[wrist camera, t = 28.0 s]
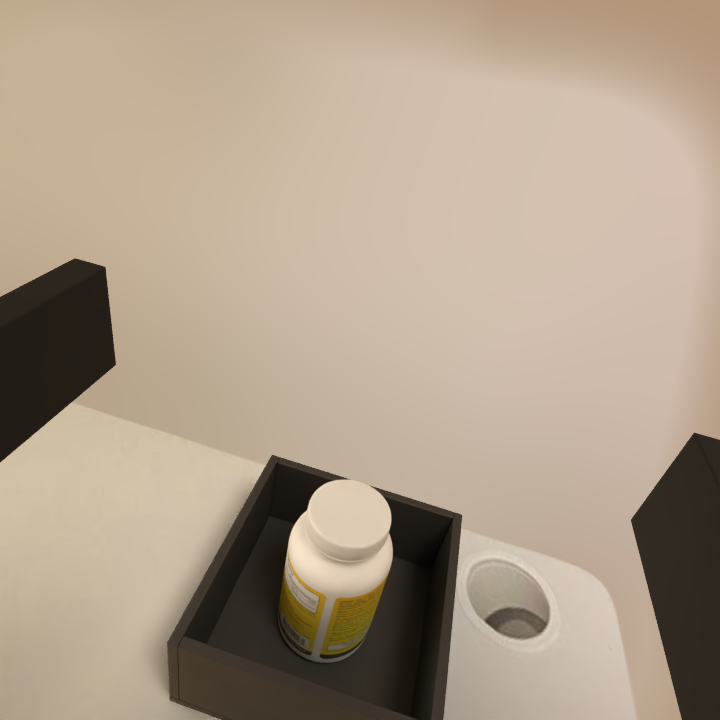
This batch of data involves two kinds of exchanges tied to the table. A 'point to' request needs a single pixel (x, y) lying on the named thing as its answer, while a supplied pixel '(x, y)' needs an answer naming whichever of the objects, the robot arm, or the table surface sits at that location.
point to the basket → (263, 636)
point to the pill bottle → (335, 571)
